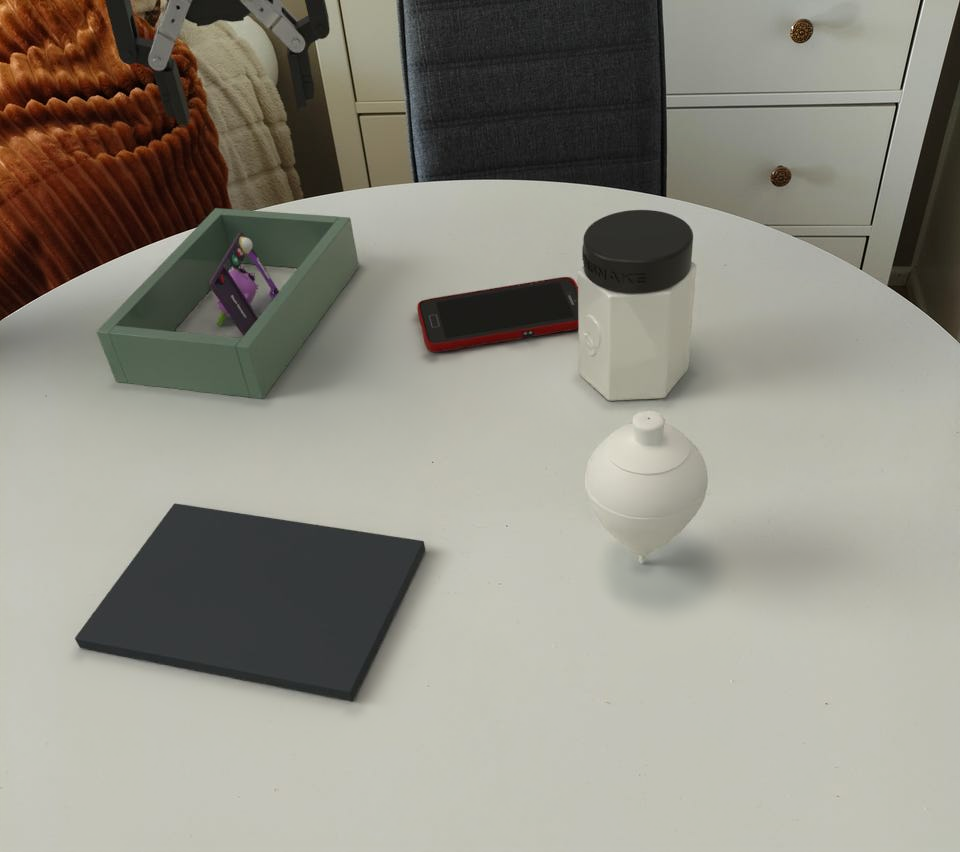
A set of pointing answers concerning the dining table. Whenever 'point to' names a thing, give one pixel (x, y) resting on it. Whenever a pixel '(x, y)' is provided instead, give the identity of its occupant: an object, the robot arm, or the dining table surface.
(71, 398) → the dining table surface
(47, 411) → the dining table surface
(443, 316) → the cell phone
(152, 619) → the mat
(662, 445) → the spinning top
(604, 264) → the jar
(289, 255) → the green rectangular tray frame
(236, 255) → the game card
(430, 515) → the dining table surface
